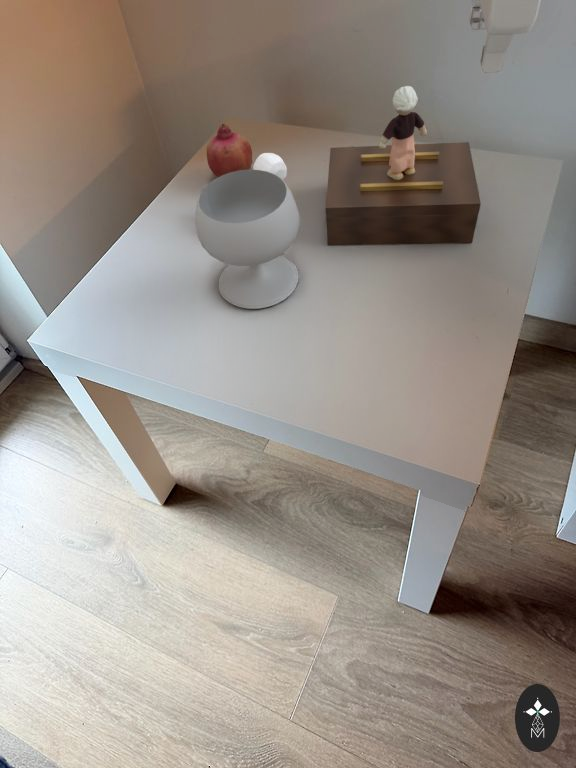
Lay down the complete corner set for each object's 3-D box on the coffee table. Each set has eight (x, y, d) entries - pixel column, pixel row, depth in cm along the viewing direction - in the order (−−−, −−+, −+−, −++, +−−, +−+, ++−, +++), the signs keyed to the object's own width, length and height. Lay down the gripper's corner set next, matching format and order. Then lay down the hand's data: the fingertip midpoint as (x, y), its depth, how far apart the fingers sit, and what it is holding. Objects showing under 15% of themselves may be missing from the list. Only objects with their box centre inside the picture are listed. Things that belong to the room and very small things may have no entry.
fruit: (203, 186, 97) (189, 133, 89) (227, 162, 101) (216, 109, 93) (240, 196, 95) (230, 142, 87) (263, 171, 98) (255, 117, 90)
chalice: (194, 292, 81) (166, 207, 69) (252, 240, 87) (236, 153, 75) (266, 329, 75) (249, 244, 63) (323, 270, 81) (318, 182, 69)
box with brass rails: (461, 181, 91) (469, 137, 85) (472, 243, 82) (482, 198, 75) (331, 185, 94) (330, 142, 88) (327, 245, 85) (325, 203, 78)
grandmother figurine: (408, 158, 84) (416, 73, 74) (426, 168, 82) (436, 82, 72) (371, 178, 82) (374, 93, 72) (388, 189, 80) (394, 103, 70)
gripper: (593, -117, 35) (536, 97, 47) (537, -178, 47) (502, 4, 58) (494, -107, 36) (461, 101, 47) (463, -169, 48) (443, 8, 59)
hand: (484, 47), depth 53 cm, fingers open, 8 cm apart
